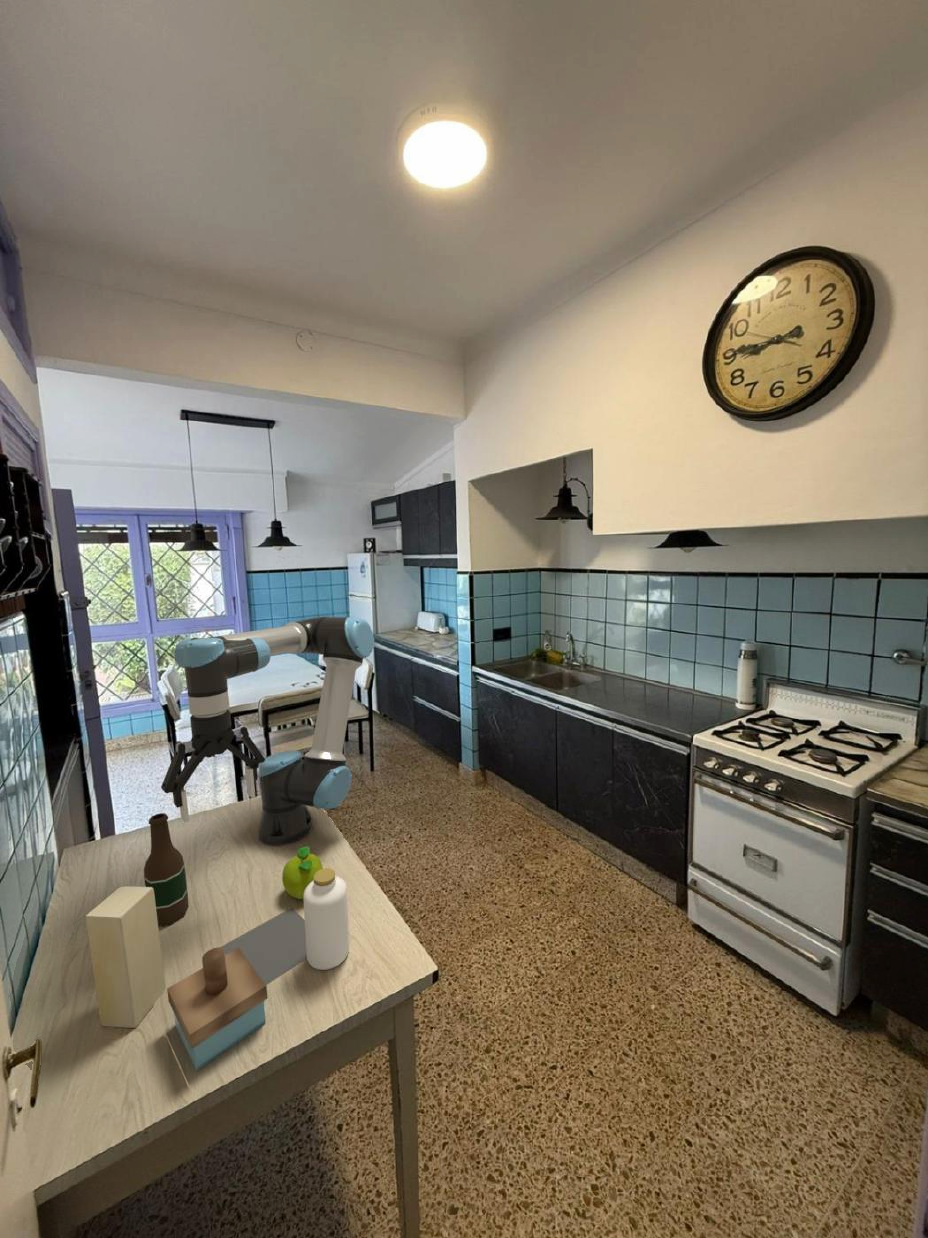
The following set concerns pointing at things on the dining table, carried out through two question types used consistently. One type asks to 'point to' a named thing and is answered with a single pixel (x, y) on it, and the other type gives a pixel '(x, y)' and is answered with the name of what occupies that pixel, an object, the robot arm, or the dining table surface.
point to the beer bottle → (166, 873)
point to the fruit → (300, 872)
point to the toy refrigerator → (126, 956)
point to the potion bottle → (326, 920)
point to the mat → (273, 945)
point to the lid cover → (216, 994)
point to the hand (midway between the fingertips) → (219, 807)
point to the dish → (224, 1036)
